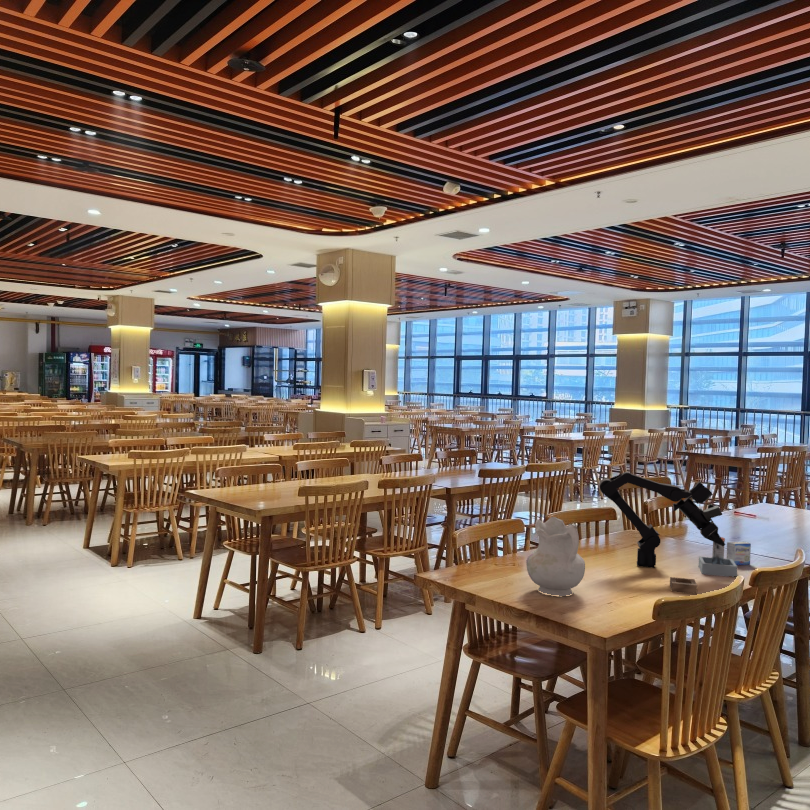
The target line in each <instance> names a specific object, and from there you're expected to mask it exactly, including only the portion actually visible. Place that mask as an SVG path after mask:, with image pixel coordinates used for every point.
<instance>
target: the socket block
mask: <svg viewBox="0 0 810 810" xmlns="http://www.w3.org/2000/svg"><path fill="white" fill-rule="evenodd" d="M669 588H670V590H671V592H672V593H679V594H681V593H682V594H691V595H698V584H697V582H696V580H695V579H694V578H684V577H683V578H682V577H672V576H670V577H669Z"/></svg>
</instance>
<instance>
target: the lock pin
mask: <svg viewBox="0 0 810 810" xmlns="http://www.w3.org/2000/svg"><path fill="white" fill-rule="evenodd" d="M720 537H721V539H722V540H723V542H724V543H725V544H726V538H725V537H723V536H720ZM711 557H712V564H721V565H723V563H724V559H725V545H724V546H721V545H719V544H717V543H715V542H713V541H712V555H711Z"/></svg>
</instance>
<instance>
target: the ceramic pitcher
mask: <svg viewBox="0 0 810 810" xmlns="http://www.w3.org/2000/svg"><path fill="white" fill-rule="evenodd" d="M564 522H565V521H564V519H560V518H557V517H556V516H551V517H548V519H547V520H546V521H545V522H543V521H542V520H540V519H538V518H537V519H536V521H535V524H534V525H535V532H536V534H537V537H538V546H537V548H536V549H534V551H532V552H531V553H530V554H528V556H527V558H526V559H525V560H526V561H525V563H526V571H527V575H528V576H529V578H530V579H531V581H532V582H533V583H534V584H535V585H537V586H539V587H538V589H537V591H538V590H539V591H541V592H543V593H547V594H551V595H559V596H566V595H570V594H572V592H573V591H572V589H574V588H575V587H577V586H578V585H579V584H580V583H581V582H582V580H583V579H584V576H585V574H586V562H585V560H584V558H583V557H582V556H581V555H580V554H579V553H578V551H579V544H580V543H579V542H580V538H579V533H578V527H577V525H575V524H574V523H572V524H571V523H569V524H568V525H566V524H565V523H564Z"/></svg>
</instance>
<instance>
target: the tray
mask: <svg viewBox="0 0 810 810" xmlns="http://www.w3.org/2000/svg"><path fill="white" fill-rule="evenodd" d="M697 565H698V569H699V571H700V572H701V574H702V575H709V576H718V577H720V576H721V577H729V576H732V578H735V577H734V576H737V577H738V565H736V564H735V563H734V561H733V560H732V559H727V558H724V563H723V565H721V564H712V556H700V555H699V556H698V564H697Z"/></svg>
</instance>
